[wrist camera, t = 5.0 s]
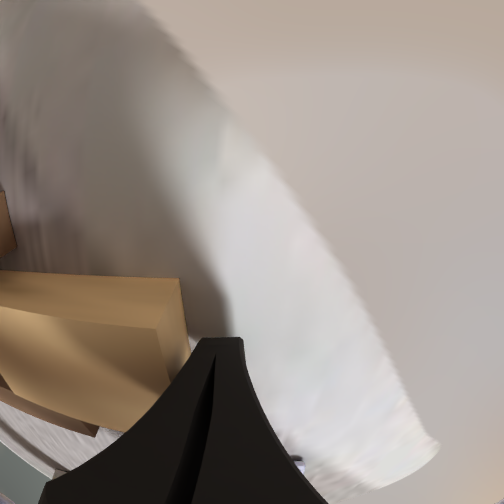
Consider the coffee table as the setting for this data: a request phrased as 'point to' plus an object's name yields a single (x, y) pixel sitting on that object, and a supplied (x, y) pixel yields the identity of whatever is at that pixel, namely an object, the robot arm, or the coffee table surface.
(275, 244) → the coffee table surface
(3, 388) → the walnut dock
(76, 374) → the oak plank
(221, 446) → the robot arm
